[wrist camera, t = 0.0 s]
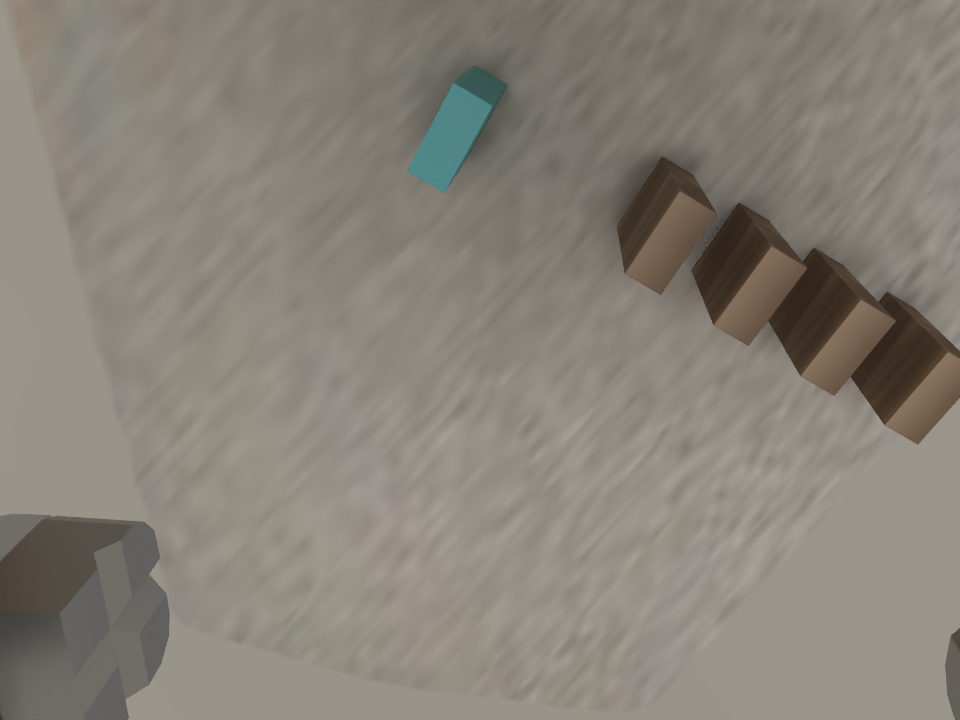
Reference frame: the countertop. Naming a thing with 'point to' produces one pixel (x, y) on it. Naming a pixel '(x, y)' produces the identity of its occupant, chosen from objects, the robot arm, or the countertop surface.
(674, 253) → the domino
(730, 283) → the domino
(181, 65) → the countertop surface
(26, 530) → the robot arm
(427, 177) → the domino
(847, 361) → the domino
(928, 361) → the domino
